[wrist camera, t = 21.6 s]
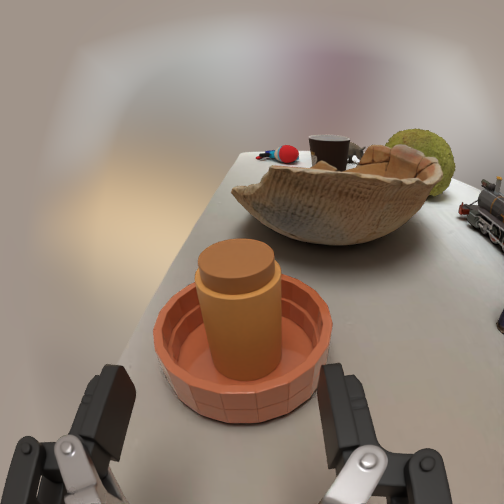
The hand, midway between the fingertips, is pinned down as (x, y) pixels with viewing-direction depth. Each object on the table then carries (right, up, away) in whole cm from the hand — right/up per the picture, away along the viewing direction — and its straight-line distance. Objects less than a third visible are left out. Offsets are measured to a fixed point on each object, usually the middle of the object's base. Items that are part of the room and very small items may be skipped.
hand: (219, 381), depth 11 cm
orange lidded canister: (+1, -3, +12) cm, 13 cm away
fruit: (+36, +18, +46) cm, 61 cm away
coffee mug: (+18, +20, +53) cm, 59 cm away
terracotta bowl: (+1, -4, +13) cm, 13 cm away
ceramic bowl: (+14, +8, +32) cm, 36 cm away
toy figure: (+9, +30, +71) cm, 78 cm away
